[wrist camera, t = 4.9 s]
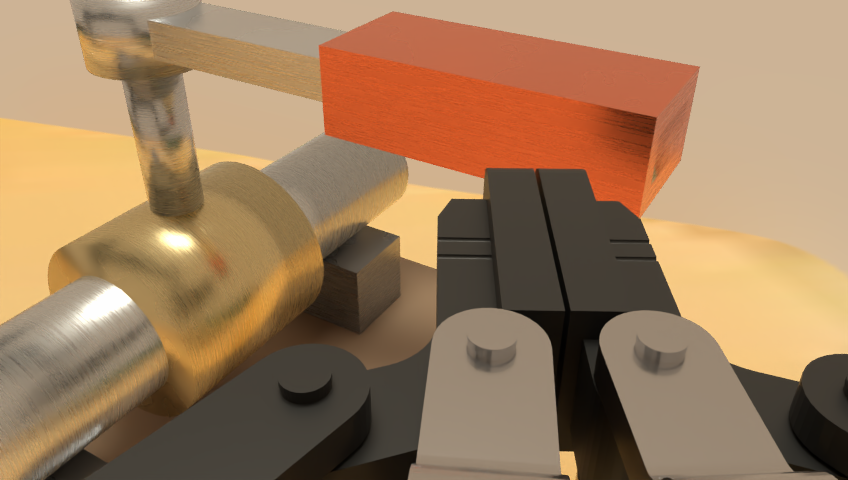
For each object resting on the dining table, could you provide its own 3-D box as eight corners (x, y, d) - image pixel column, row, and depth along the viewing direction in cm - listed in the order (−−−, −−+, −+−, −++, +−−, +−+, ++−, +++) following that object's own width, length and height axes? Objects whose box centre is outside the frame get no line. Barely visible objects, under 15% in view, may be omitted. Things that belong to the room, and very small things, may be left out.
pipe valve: (318, 243, 36) (296, -24, 30) (428, 281, 34) (431, -1, 27) (-117, 573, 22) (-351, 195, 15) (18, 686, 19) (-194, 289, 12)
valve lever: (152, 33, 23) (138, -37, 22) (682, 156, 16) (702, 63, 15) (59, 65, 20) (39, -11, 19) (634, 225, 14) (653, 121, 13)
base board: (286, 250, 39) (282, 216, 38) (498, 327, 34) (500, 291, 33) (-180, 593, 23) (-210, 552, 22) (84, 836, 18) (63, 797, 17)
